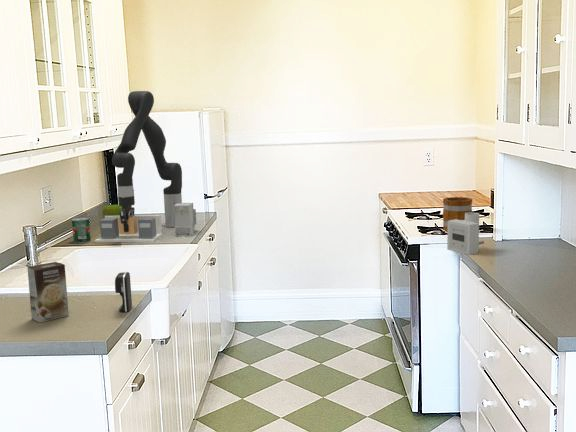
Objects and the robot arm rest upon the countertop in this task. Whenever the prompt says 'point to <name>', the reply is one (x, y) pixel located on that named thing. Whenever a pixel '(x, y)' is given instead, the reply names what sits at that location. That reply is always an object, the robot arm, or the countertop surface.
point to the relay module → (131, 223)
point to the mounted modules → (112, 230)
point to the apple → (111, 210)
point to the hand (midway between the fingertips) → (128, 230)
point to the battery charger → (124, 290)
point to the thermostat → (464, 234)
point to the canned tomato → (81, 230)
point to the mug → (455, 209)
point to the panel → (158, 230)
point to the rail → (126, 237)
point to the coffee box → (48, 291)
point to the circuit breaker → (184, 219)
